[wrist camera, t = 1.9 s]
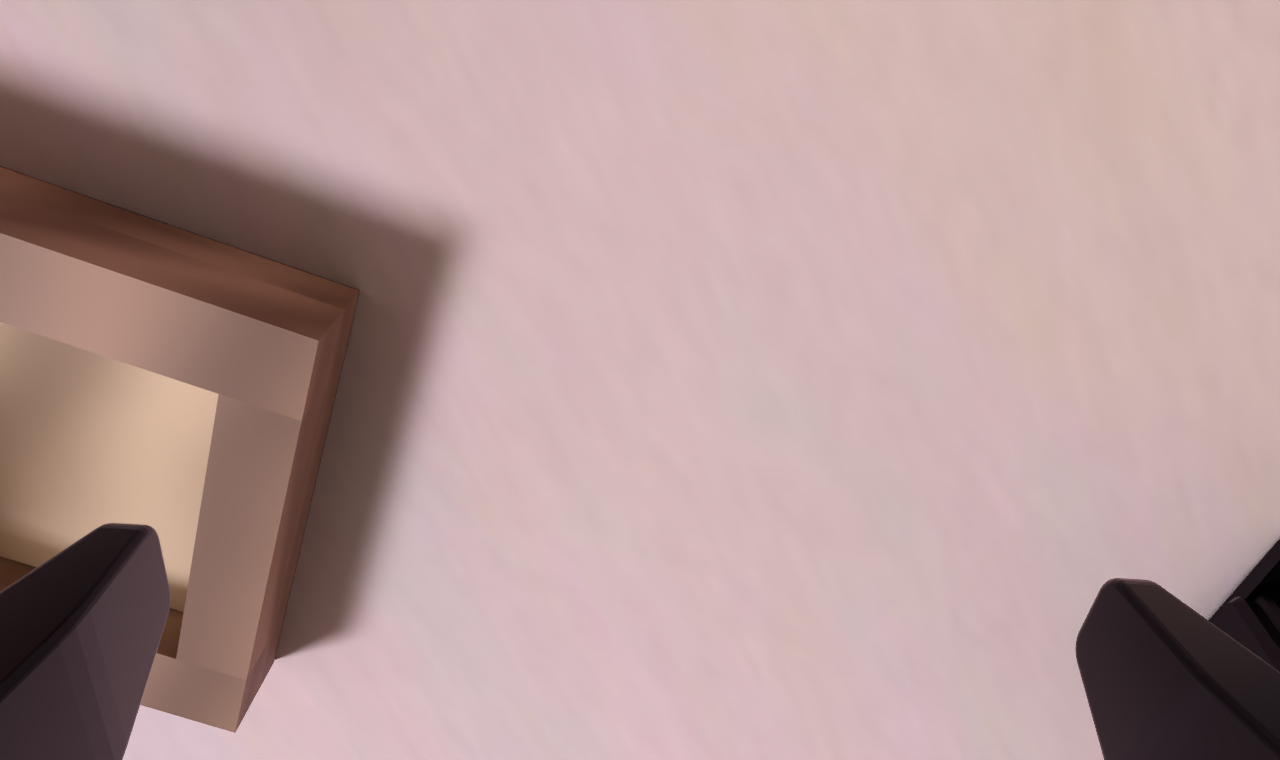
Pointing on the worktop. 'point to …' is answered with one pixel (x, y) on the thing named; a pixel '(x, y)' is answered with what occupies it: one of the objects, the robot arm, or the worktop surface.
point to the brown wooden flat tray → (165, 421)
